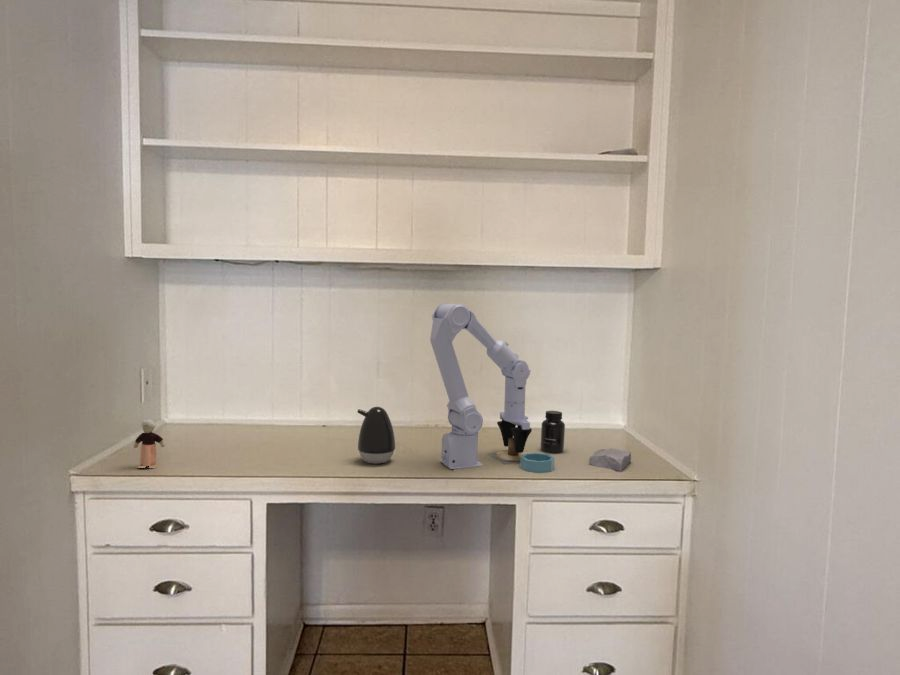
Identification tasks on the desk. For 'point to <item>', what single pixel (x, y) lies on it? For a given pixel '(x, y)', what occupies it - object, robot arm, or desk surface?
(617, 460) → the stone block
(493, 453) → the mat
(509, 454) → the lid
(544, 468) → the bowl
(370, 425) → the pump dispenser
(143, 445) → the grandmother figurine
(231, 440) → the desk surface
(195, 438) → the desk surface
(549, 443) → the supplement bottle
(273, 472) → the desk surface
